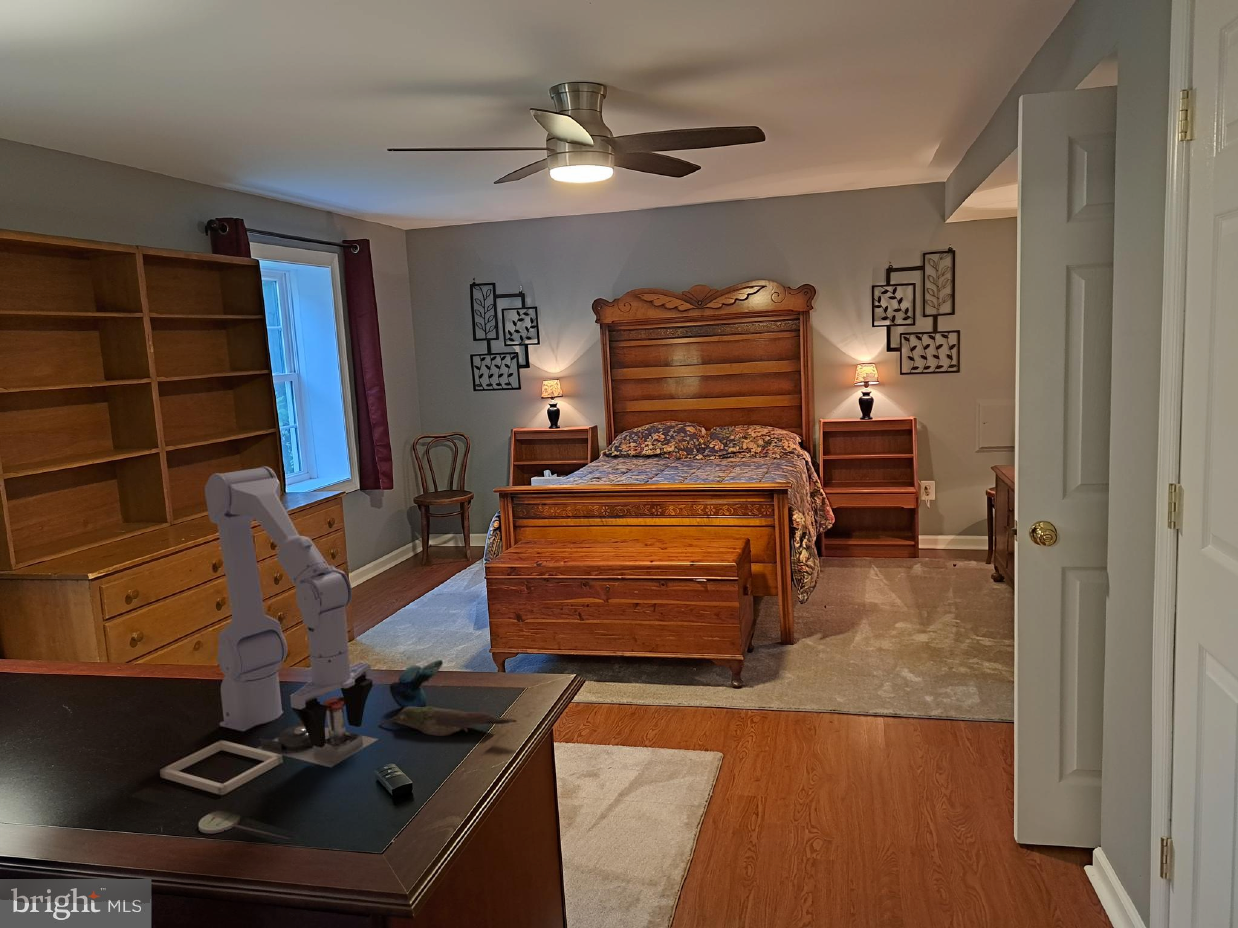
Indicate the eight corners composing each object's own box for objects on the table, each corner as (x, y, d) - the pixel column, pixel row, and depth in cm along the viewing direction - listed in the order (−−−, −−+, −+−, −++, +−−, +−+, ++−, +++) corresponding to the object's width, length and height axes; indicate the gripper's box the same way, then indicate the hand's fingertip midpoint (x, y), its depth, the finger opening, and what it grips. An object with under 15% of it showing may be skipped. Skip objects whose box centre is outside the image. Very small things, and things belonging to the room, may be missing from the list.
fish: (441, 721, 147) (437, 664, 146) (386, 718, 149) (381, 662, 148) (451, 710, 151) (447, 655, 150) (397, 708, 153) (393, 653, 152)
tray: (161, 784, 129) (159, 769, 129) (223, 753, 139) (221, 739, 138) (223, 802, 123) (221, 787, 123) (283, 769, 132) (281, 755, 132)
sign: (276, 847, 111) (189, 825, 116) (276, 854, 111) (190, 831, 117) (305, 826, 115) (220, 806, 121) (305, 832, 115) (221, 811, 121)
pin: (323, 751, 135) (318, 703, 134) (338, 742, 138) (334, 695, 137) (338, 754, 134) (333, 706, 133) (353, 745, 136) (349, 698, 135)
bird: (523, 734, 140) (521, 705, 140) (511, 749, 136) (509, 719, 135) (382, 725, 147) (380, 696, 146) (366, 738, 142) (363, 709, 141)
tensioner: (257, 755, 137) (255, 737, 137) (306, 729, 146) (304, 712, 146) (331, 774, 130) (329, 755, 130) (378, 746, 139) (377, 728, 138)
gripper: (311, 670, 125) (320, 760, 127) (382, 639, 138) (389, 720, 140) (277, 664, 129) (286, 751, 131) (349, 634, 141) (356, 713, 143)
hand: (337, 735), depth 135 cm, fingers open, 7 cm apart
